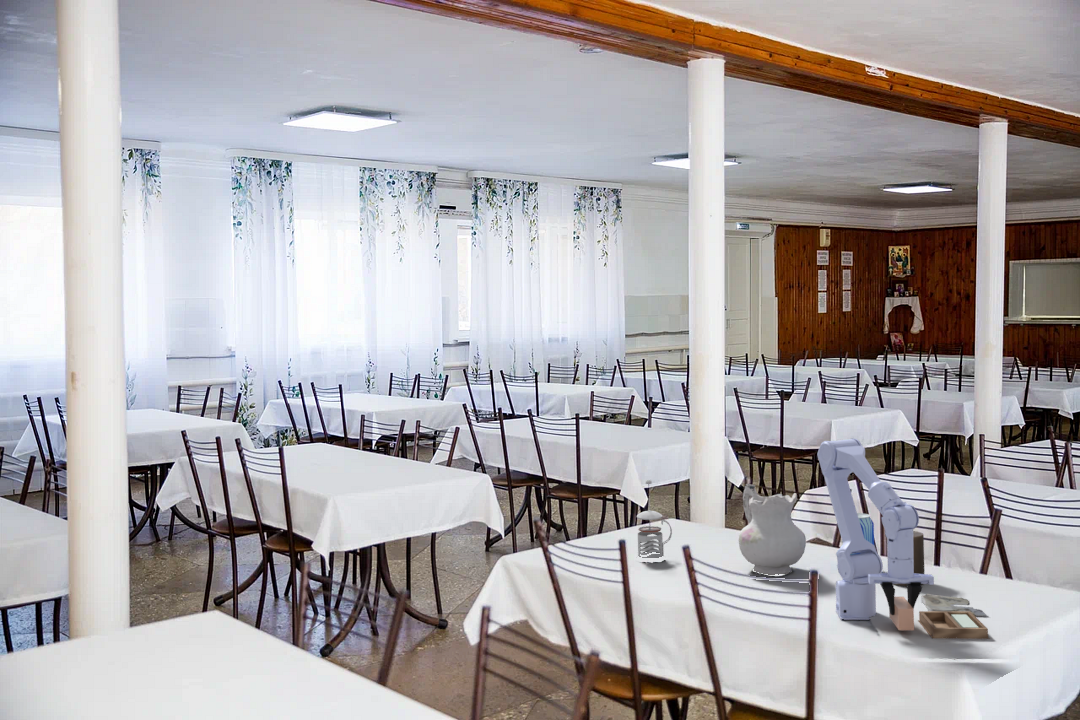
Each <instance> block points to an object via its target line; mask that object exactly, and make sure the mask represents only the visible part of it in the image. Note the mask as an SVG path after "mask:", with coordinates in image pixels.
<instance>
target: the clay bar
mask: <svg viewBox="0 0 1080 720" xmlns="http://www.w3.org/2000/svg"><path fill="white" fill-rule="evenodd" d="M894 607H895V615H891V614H890V610H889V612H888V613H889V618H890V620H891V622H892V623H893V624H894V626H895V627H896V628H897V630H898V631H915V618H914V617H915V614H914V613H915V611H914V609H915V608H914V609H913V608H912V606H911V605H910V604H909V603H908V599H906V597H905V596H894Z"/></svg>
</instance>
